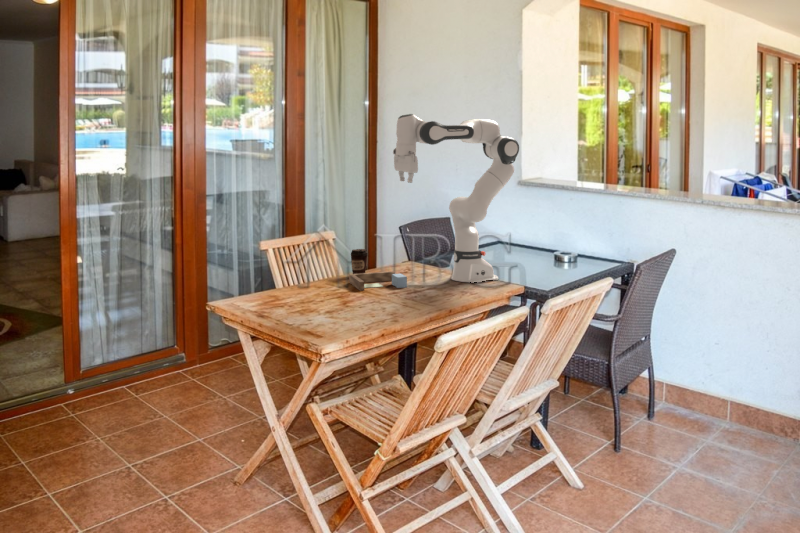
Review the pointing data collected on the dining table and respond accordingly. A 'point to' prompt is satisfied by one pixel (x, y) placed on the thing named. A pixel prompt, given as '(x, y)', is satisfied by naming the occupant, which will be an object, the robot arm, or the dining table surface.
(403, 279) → the block
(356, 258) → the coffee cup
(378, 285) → the brown l-shaped corner fence
